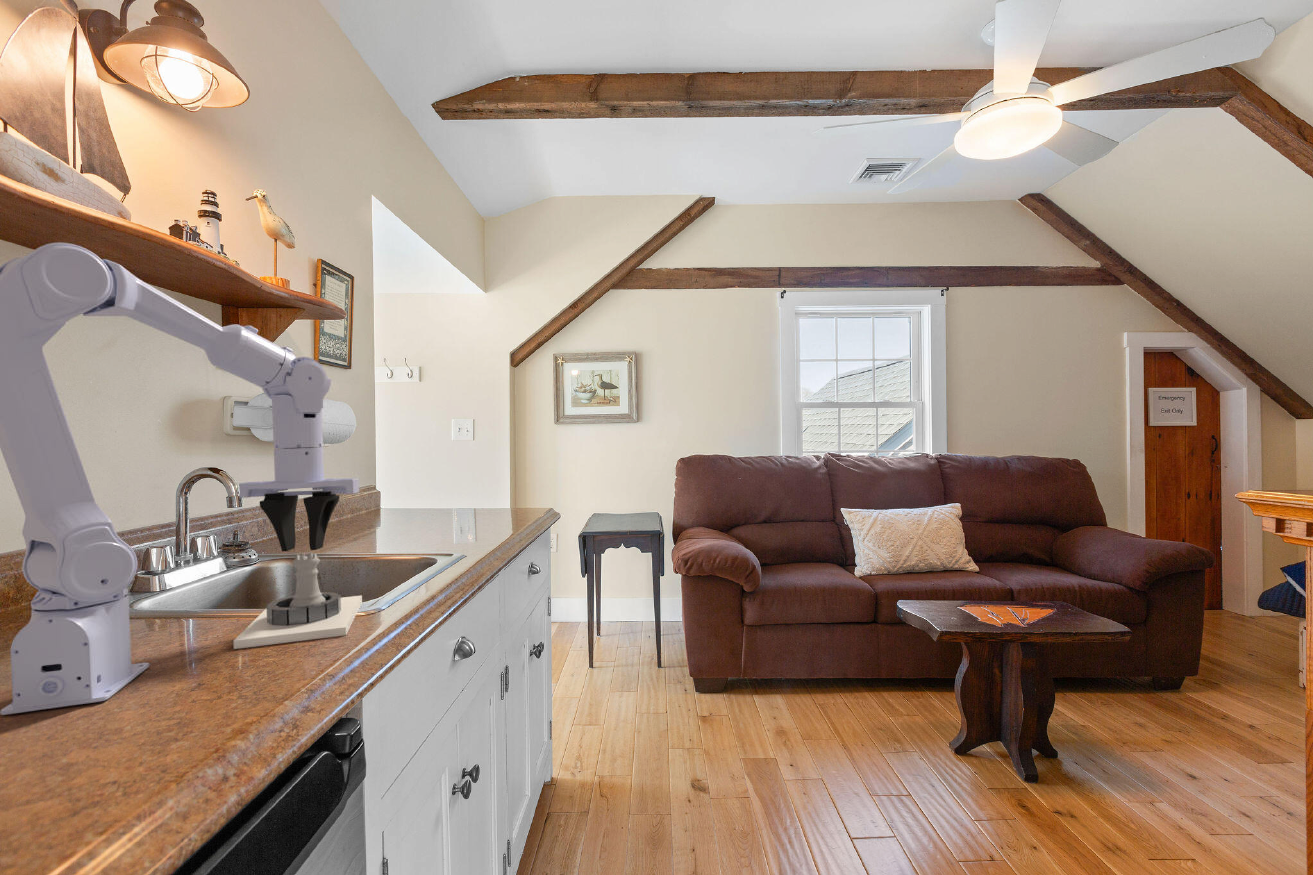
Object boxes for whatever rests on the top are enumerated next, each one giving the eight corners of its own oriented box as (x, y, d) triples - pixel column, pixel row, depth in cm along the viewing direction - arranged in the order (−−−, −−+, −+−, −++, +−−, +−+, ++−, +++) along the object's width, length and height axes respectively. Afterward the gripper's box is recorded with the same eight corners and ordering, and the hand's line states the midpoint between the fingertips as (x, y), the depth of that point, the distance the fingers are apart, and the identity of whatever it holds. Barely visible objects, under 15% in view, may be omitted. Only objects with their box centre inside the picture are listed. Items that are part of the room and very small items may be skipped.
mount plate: (345, 635, 77) (345, 627, 77) (233, 649, 73) (233, 640, 73) (362, 602, 92) (361, 595, 92) (269, 612, 88) (269, 605, 88)
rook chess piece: (334, 609, 85) (332, 551, 85) (312, 619, 81) (309, 558, 80) (304, 608, 86) (302, 551, 85) (281, 618, 81) (278, 558, 81)
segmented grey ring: (334, 620, 80) (334, 604, 80) (260, 628, 77) (259, 613, 77) (344, 603, 88) (344, 589, 88) (277, 610, 85) (276, 596, 85)
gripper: (366, 445, 86) (370, 541, 87) (259, 448, 85) (263, 545, 86) (344, 446, 79) (348, 551, 80) (227, 450, 78) (231, 556, 79)
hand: (302, 549), depth 82 cm, fingers open, 3 cm apart
